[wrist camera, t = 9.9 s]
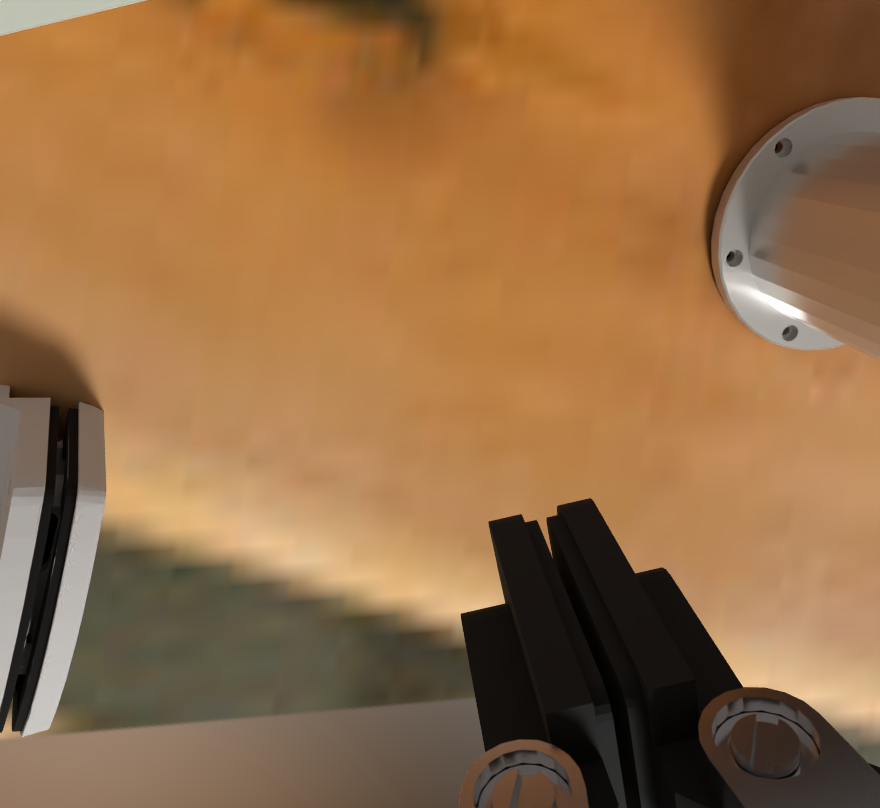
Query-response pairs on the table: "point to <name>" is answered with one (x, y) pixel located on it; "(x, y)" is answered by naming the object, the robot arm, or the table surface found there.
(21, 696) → the grey piece
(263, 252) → the table surface
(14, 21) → the card
